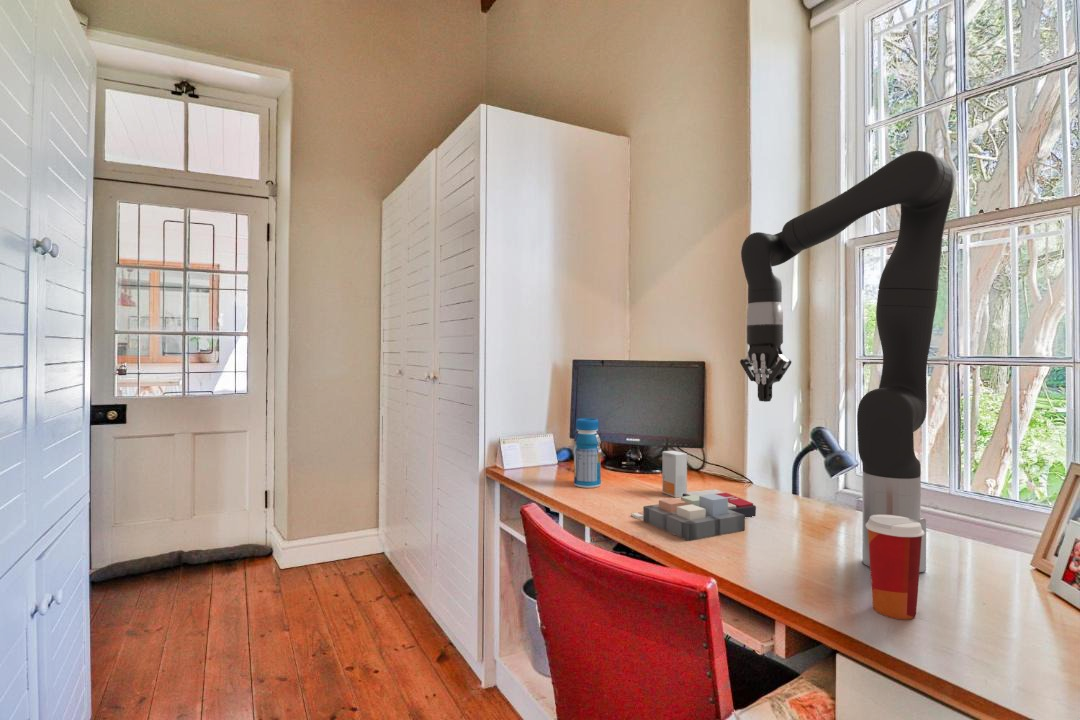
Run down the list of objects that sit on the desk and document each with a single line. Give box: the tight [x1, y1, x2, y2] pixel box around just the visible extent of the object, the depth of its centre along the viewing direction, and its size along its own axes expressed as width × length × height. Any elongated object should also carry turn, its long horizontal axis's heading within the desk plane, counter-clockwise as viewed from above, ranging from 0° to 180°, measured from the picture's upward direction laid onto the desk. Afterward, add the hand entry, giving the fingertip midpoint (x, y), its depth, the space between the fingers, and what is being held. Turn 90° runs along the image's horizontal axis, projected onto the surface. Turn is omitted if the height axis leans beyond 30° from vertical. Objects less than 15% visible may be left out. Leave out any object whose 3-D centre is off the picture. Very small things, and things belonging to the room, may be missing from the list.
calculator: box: [683, 488, 757, 518], centre depth 144 cm, size 11×4×15 cm
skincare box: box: [661, 450, 688, 499], centre depth 161 cm, size 6×4×12 cm
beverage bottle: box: [572, 417, 602, 489], centre depth 173 cm, size 8×8×20 cm
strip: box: [630, 511, 643, 520], centre depth 142 cm, size 3×16×1 cm, turn 116°
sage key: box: [680, 495, 699, 507], centre depth 136 cm, size 4×4×4 cm
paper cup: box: [865, 515, 924, 621], centre depth 88 cm, size 8×8×14 cm
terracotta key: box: [658, 497, 686, 513], centre depth 133 cm, size 4×4×4 cm
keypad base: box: [642, 503, 746, 542], centre depth 132 cm, size 16×16×4 cm
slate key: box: [699, 494, 728, 516], centre depth 130 cm, size 4×4×4 cm
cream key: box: [677, 504, 706, 520], centre depth 127 cm, size 4×4×4 cm
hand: (764, 401), depth 128 cm, fingers closed
